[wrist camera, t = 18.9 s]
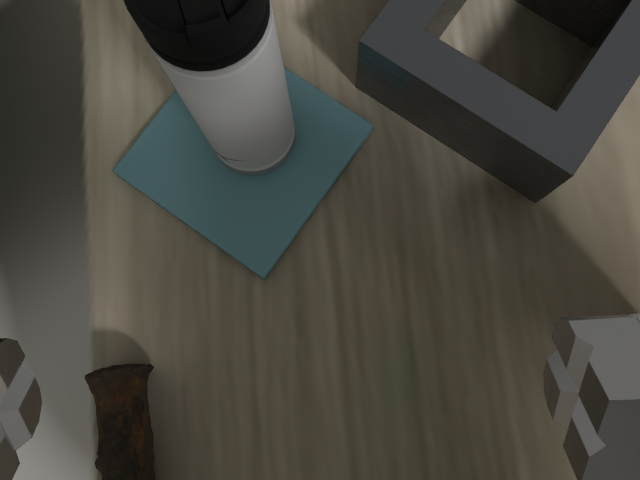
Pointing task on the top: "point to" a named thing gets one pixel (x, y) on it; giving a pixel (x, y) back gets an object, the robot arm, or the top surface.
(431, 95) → the square collar
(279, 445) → the top surface
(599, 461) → the robot arm
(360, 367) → the top surface
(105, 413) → the hand tool
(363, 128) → the rubber mat
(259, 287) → the top surface
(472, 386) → the top surface
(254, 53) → the travel mug
